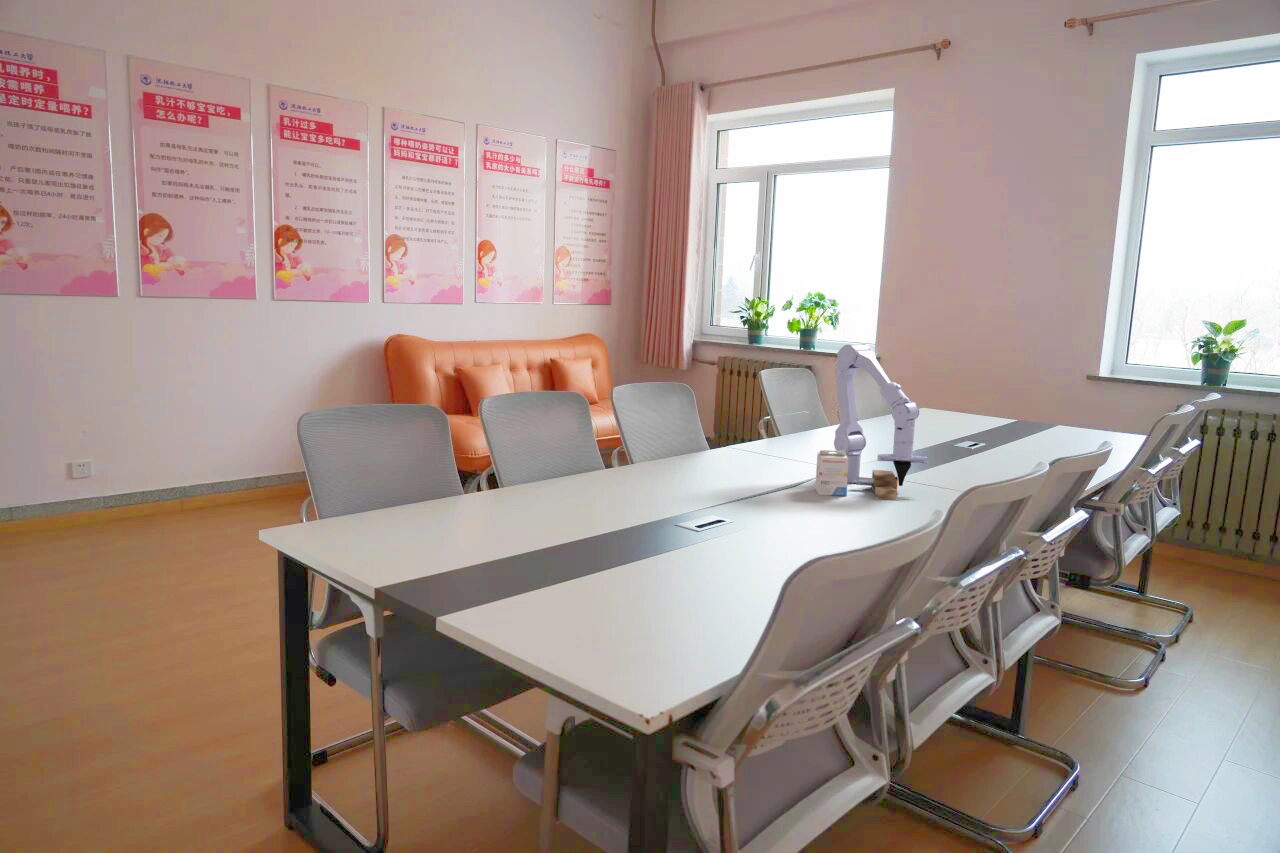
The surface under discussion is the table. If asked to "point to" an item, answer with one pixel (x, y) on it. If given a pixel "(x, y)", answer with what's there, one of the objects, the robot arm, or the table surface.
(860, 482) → the pin
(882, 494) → the block
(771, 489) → the table surface
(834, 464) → the ink box
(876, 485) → the block
